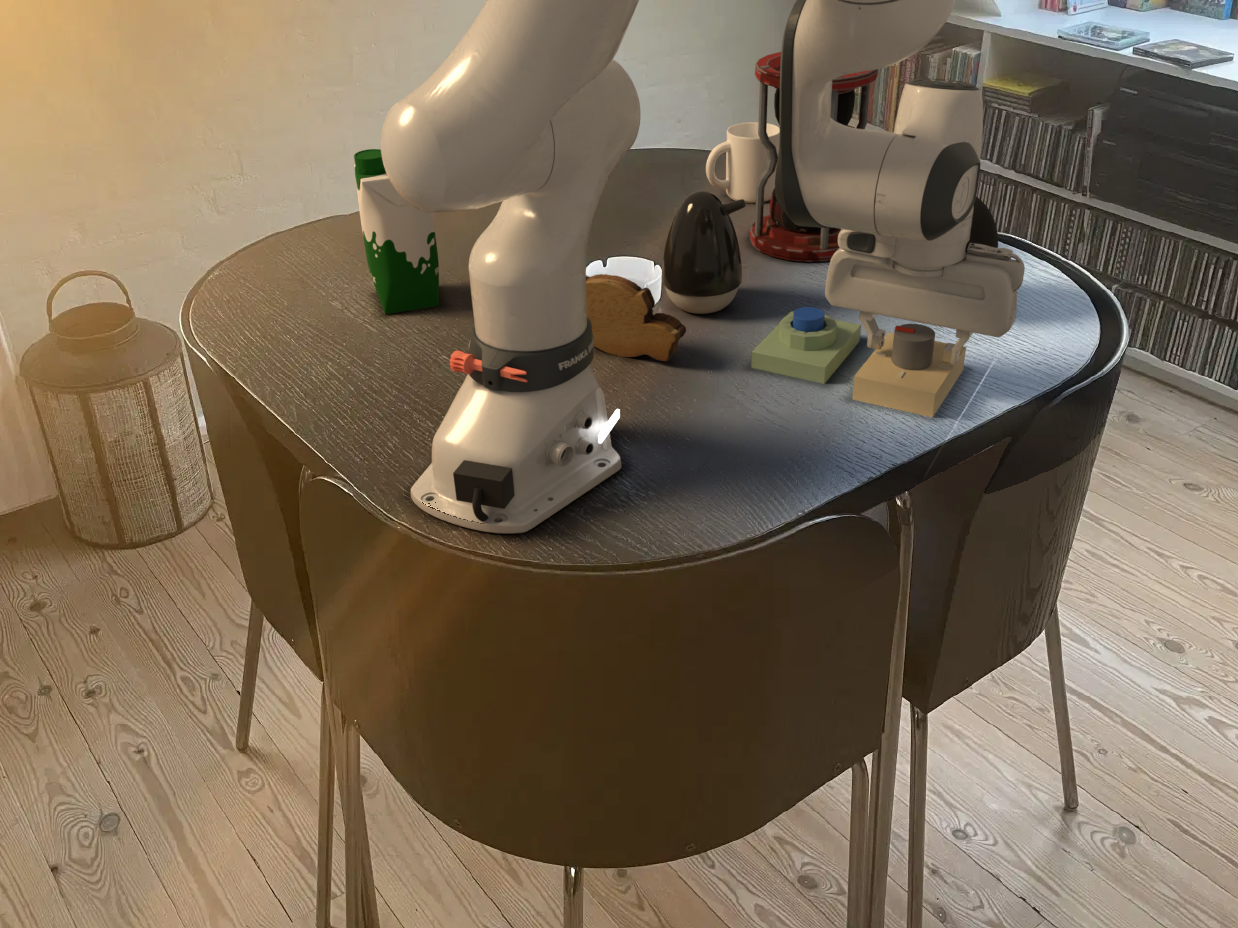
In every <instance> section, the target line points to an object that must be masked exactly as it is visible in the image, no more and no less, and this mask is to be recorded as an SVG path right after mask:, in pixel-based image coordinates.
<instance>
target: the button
mask: <svg viewBox="0 0 1238 928" xmlns="http://www.w3.org/2000/svg"><path fill="white" fill-rule="evenodd" d="M793 312H794V313H793V328H794V329H796V330H798V331H803V332H817V331H820V330H823V328H824V318H825V315H826V314H825V312H824V310H822V309H820V308H817V307H813V306H804V307H803V306H802V307H798V308H797V309H795V310H794V311H793Z"/></svg>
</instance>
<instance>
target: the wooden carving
mask: <svg viewBox="0 0 1238 928" xmlns="http://www.w3.org/2000/svg"><path fill="white" fill-rule="evenodd" d="M655 305H656V302H655V298H654V295H653V293H652V291H651V289H650V288H649V287H643V288H642V287H641V286H639V285H638V284H637V283H636V282H635V281H632V280H630V279H627V278H625V277H623V276H619V275H612V274H607V273H606V274H605V273H604V274H602V273H599V274H594V275H591V276H588V275H587V274H586V306H587V317H588V318H589V320H590V322H591V326H592V333H593V336H594V346H593V348H594V347H595V348H596V349H598V350H600V351H602V352H604V353H607V354H610V355H613V356H617V357H623V358H635V357H640V356H644V355H647V356H649V357H650V358H652V359H654V360H656V361H661V362H669V361H670V360H671V358H672V356H673V355H674V353H676V351H678V346H679V341H680V340H681V339H682V338H683V337H684V336H685V335H686V332H687V327H686V326H685V324H683V323H682V322H681V321H680V320H679V319H677V317H674V316H672V315H671V314H668V313H664V312H656V313H654V309H653V308H654V307H655Z"/></svg>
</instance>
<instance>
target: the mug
mask: <svg viewBox="0 0 1238 928" xmlns="http://www.w3.org/2000/svg"><path fill="white" fill-rule="evenodd" d="M758 122H759V121H757V122H755V121H749V122H741V123H736V124H733V125H730V126H729V127H728V128H727V129H726V140H725V141H723V142H721V143H719V144H717V145H716V146H715V147H714V148H713V149H712V150H711V151H710V152H709V155H708V157H707V160H706V163H705V176H706V178H707V180H708V182H709V184H710V185H711V186H712V187H714V188H715V189H718V190H725V193H726V195H727V196H728V197H729V198H730V199H731V200H733V201H737V200H740V199H743V200H744V201H745V204H756V186H757V184H758V181H759V178H760V176H761V175H762V174H763V173H764V171H765V170H766V167H767V163H768V154H767V149H766V148H765V146H764V145H763V144H762V143H761V141H760V138H759V135H758ZM766 132H767V134H768V137H769V140H770V141H771V142H772V144H773V145H774V146H775V147H776V151H777V155H778V152H779V137H780V126H779V125H778V126H777V125H775V124H774V123H768V122H767V129H766ZM724 153H726V157H725V179H719V178H717V175H716V171H715V168H716V167H715V166H716V162H717V160H718V158H719V157H720V156H721V155H722V154H724ZM776 167H777V164H776ZM775 176H776V168H775V171H774V173H773V174H772V175H771V176H770V177H769V178H768V180H767V183H766V185H765V187H764V203H765V202H770V201H771V196H772V192H773V190H774V188H775Z"/></svg>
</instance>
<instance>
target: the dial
mask: <svg viewBox="0 0 1238 928" xmlns="http://www.w3.org/2000/svg"><path fill="white" fill-rule="evenodd" d="M893 333H894V338H893V348H892V357H891V360H892V362H893V363H894V364H895V365H896V366H898V367H901V368H904V369H909V370H920V369H924V368H927V367H929V366H930V365H931V363H932V357H933V349H934V341H936V332H935V330H934V329H933V328H931V327H929V326H927V325H924V324H919V323H905V324H901V325H895V327H894V330H893Z"/></svg>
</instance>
